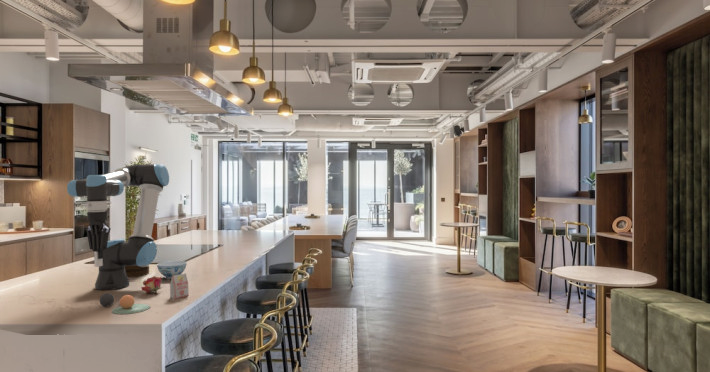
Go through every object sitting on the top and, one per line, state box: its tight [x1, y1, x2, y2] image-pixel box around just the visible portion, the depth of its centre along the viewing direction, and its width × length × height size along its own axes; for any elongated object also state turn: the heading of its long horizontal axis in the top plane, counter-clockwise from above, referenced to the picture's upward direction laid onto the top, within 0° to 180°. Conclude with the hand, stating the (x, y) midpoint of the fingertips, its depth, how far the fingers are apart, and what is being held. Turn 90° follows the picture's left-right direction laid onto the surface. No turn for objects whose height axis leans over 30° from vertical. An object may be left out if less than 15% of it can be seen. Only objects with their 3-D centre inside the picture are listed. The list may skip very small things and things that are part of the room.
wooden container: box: [125, 240, 150, 278], centre depth 259 cm, size 15×15×22 cm
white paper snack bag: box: [169, 273, 189, 300], centre depth 208 cm, size 4×7×10 cm, turn 142°
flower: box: [141, 275, 163, 294], centre depth 215 cm, size 10×9×8 cm
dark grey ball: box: [99, 292, 115, 307], centre depth 194 cm, size 6×6×6 cm
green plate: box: [111, 303, 151, 315], centre depth 189 cm, size 14×14×1 cm
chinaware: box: [156, 260, 188, 280], centre depth 249 cm, size 15×15×8 cm
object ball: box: [119, 294, 135, 309], centre depth 190 cm, size 6×6×6 cm
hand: (98, 266), depth 196 cm, fingers closed
